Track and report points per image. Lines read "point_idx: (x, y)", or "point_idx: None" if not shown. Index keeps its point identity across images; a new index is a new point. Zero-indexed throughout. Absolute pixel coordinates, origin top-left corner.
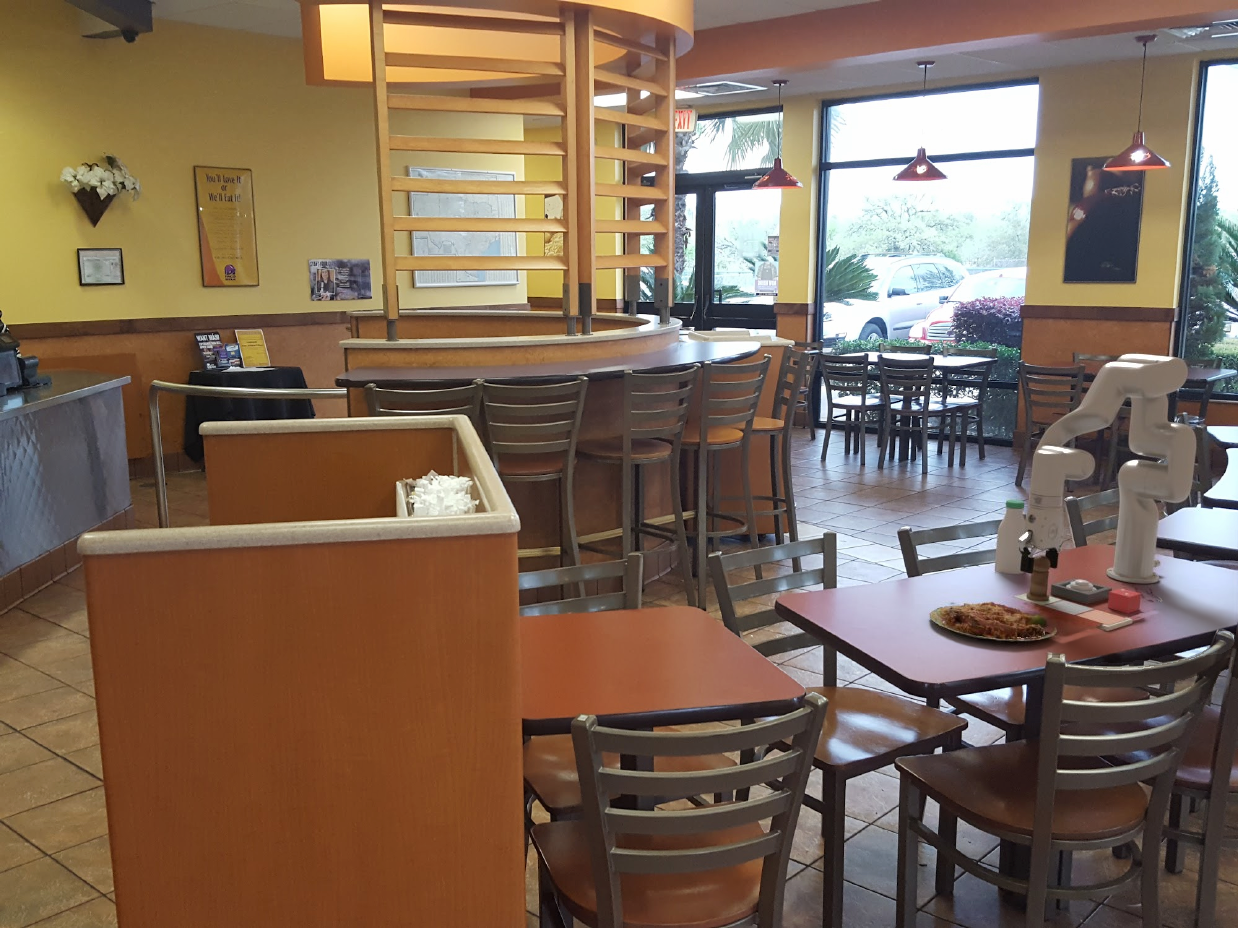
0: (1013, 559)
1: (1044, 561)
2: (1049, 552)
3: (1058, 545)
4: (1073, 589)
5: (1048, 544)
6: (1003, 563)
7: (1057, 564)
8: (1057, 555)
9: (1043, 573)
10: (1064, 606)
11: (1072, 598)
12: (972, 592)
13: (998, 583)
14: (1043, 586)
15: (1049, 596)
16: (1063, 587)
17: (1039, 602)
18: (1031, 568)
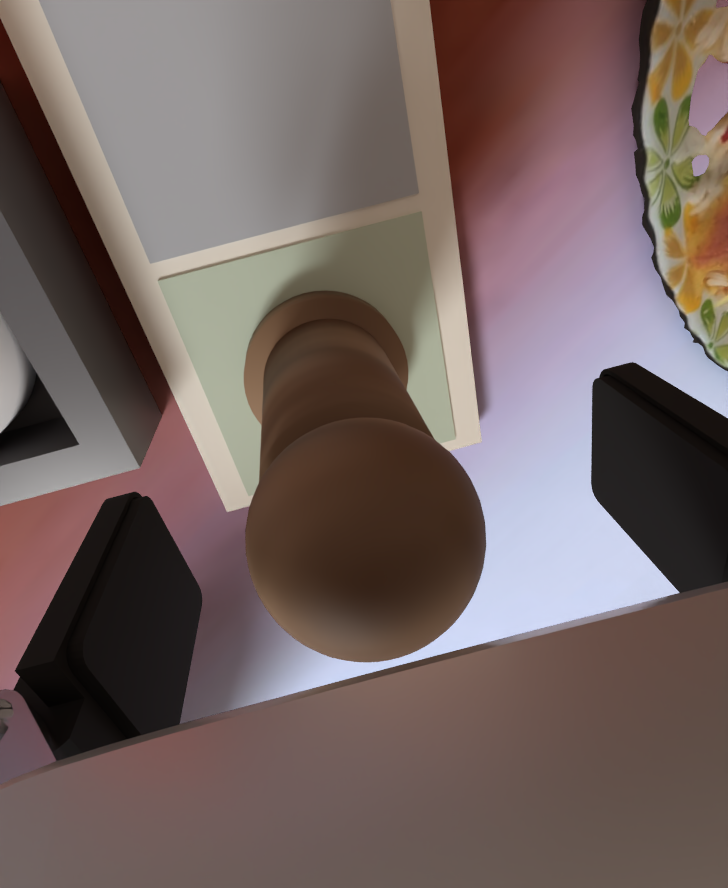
0: None
1: (414, 492)
2: (145, 723)
3: (75, 778)
4: (4, 291)
5: (695, 729)
6: None
7: (92, 523)
8: (64, 623)
9: (384, 403)
10: (261, 105)
11: (59, 248)
12: (525, 583)
13: (291, 669)
14: (350, 347)
15: (207, 379)
16: (76, 373)
17: (389, 278)
18: (665, 392)
